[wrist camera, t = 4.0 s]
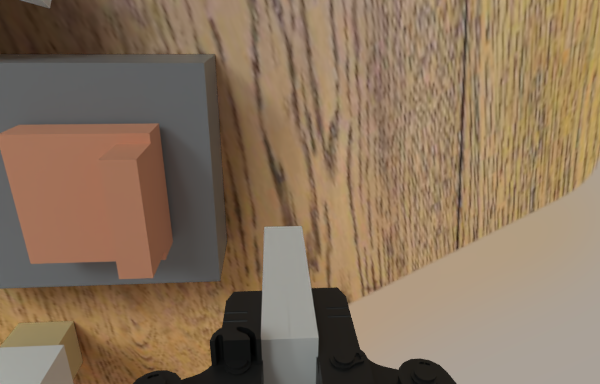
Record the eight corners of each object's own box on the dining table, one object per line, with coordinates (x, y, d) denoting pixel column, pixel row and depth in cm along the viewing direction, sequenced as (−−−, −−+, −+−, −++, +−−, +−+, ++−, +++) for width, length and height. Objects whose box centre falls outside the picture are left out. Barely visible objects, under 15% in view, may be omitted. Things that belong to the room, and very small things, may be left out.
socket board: (-34, 248, 30) (-88, 291, 26) (-98, 53, 25) (-179, 63, 21) (227, 241, 31) (220, 281, 27) (215, 54, 27) (204, 63, 22)
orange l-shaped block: (48, 245, 25) (4, 291, 21) (19, 124, 22) (-39, 150, 18) (173, 241, 25) (154, 286, 21) (159, 123, 23) (134, 148, 18)
